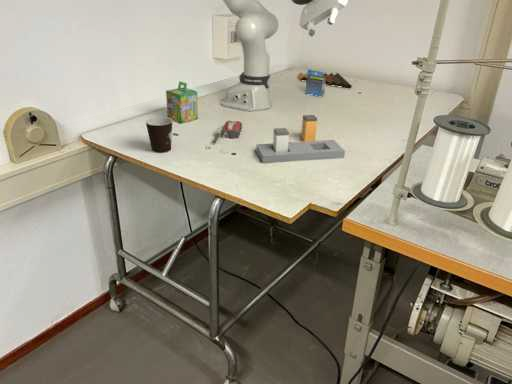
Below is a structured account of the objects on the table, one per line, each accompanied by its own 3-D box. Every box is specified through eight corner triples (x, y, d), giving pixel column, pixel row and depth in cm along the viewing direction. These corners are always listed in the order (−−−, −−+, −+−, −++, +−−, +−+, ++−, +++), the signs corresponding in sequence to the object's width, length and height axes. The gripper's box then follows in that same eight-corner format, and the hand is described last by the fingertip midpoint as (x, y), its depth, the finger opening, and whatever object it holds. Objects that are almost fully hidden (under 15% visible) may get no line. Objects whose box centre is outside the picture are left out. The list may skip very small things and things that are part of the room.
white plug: (275, 158, 136) (276, 132, 132) (272, 153, 139) (273, 128, 135) (287, 157, 137) (288, 132, 132) (283, 153, 140) (285, 128, 136)
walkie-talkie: (220, 126, 163) (211, 145, 145) (220, 115, 161) (211, 133, 143) (242, 128, 162) (236, 147, 145) (243, 117, 160) (236, 135, 142)
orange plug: (304, 142, 149) (306, 118, 145) (301, 138, 152) (303, 115, 148) (314, 142, 150) (317, 118, 146) (311, 138, 153) (313, 114, 149)
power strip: (262, 163, 132) (263, 156, 131) (256, 151, 141) (256, 144, 140) (344, 157, 138) (345, 150, 137) (332, 146, 147) (333, 139, 145)
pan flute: (351, 89, 219) (339, 78, 241) (352, 83, 217) (340, 72, 239) (305, 89, 217) (297, 78, 239) (305, 82, 216) (298, 72, 237)
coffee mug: (162, 156, 135) (159, 127, 130) (143, 150, 139) (140, 121, 134) (185, 145, 144) (183, 117, 139) (167, 140, 148) (164, 113, 143)
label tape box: (324, 95, 206) (327, 70, 200) (321, 97, 203) (323, 72, 197) (308, 92, 210) (310, 68, 204) (305, 94, 207) (307, 69, 201)
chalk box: (167, 118, 168) (164, 82, 161) (184, 113, 174) (182, 78, 167) (181, 124, 163) (178, 86, 156) (198, 119, 169) (197, 82, 162)
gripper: (297, 3, 148) (293, 38, 145) (338, -27, 131) (335, 12, 128) (310, 10, 151) (307, 44, 149) (352, -18, 134) (349, 20, 132)
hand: (320, 29), depth 138 cm, fingers open, 8 cm apart
